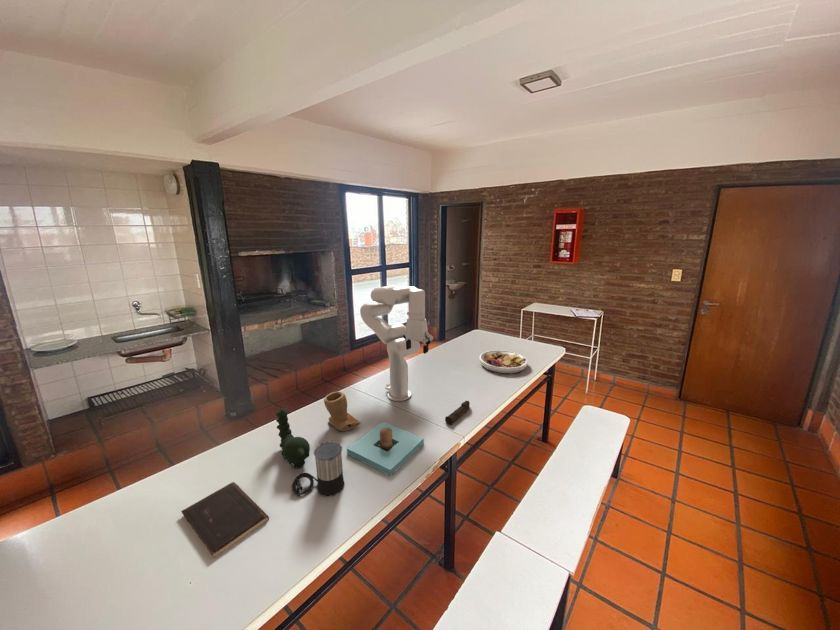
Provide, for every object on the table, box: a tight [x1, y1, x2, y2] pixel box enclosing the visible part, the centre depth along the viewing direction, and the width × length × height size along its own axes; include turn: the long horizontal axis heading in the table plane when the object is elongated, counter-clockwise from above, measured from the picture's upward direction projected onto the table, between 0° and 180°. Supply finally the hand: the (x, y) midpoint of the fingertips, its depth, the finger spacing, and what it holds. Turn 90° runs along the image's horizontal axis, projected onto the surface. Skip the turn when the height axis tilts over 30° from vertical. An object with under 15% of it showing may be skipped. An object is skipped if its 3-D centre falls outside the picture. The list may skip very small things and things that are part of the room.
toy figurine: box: [275, 408, 311, 469], centre depth 128 cm, size 9×19×25 cm
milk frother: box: [291, 441, 345, 497], centre depth 113 cm, size 14×16×15 cm
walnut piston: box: [379, 428, 394, 452], centre depth 134 cm, size 5×5×8 cm
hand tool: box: [444, 400, 471, 426], centre depth 158 cm, size 19×4×5 cm, turn 140°
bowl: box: [479, 349, 528, 374], centre depth 215 cm, size 30×30×8 cm
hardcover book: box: [180, 481, 270, 558], centre depth 103 cm, size 16×23×2 cm
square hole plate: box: [346, 421, 425, 477], centre depth 135 cm, size 22×22×2 cm
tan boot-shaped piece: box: [323, 391, 361, 432], centre depth 150 cm, size 15×12×15 cm
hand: (417, 350), depth 158 cm, fingers open, 9 cm apart
